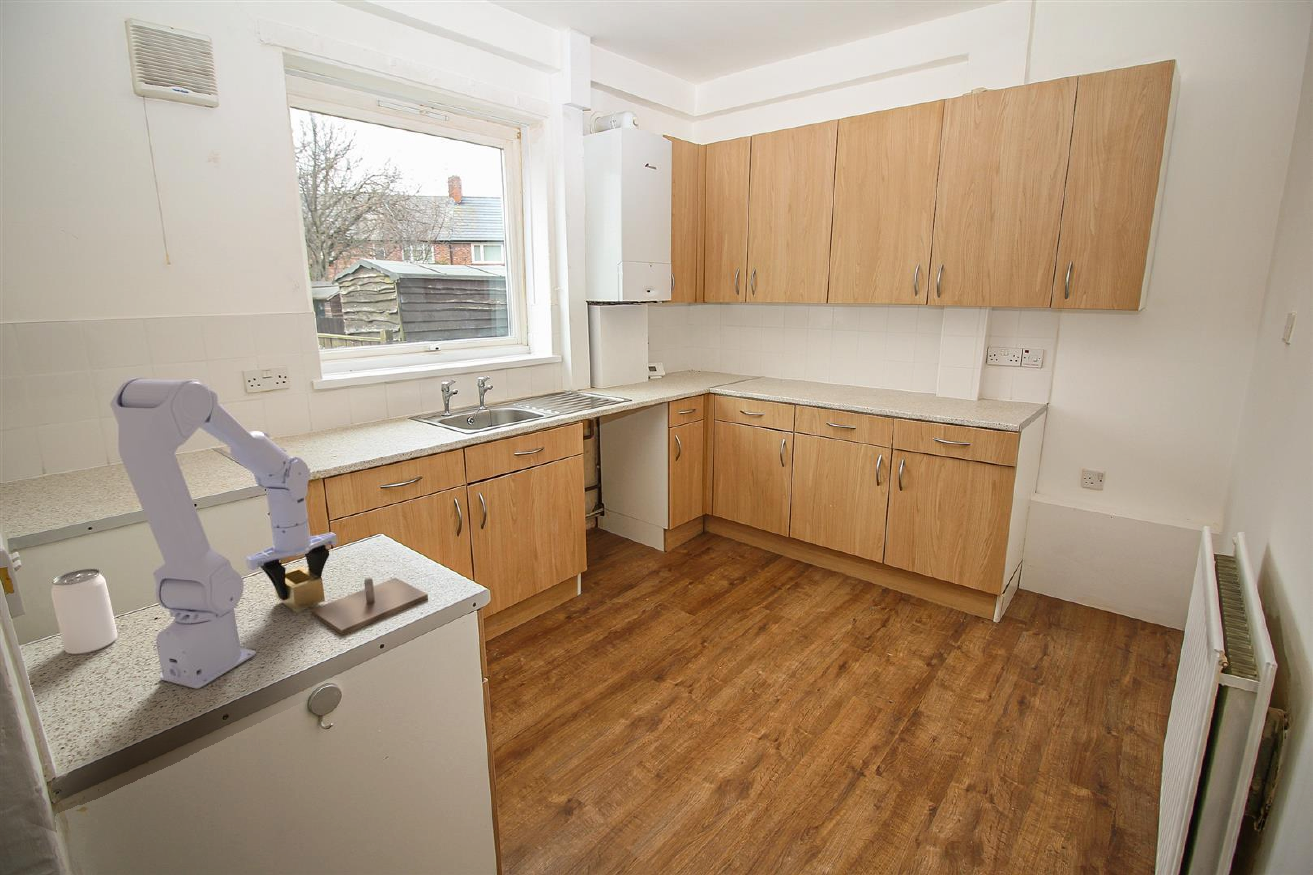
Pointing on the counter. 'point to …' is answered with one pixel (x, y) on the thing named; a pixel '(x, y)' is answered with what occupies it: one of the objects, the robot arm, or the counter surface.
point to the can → (83, 611)
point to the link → (302, 589)
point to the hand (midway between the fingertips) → (299, 592)
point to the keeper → (368, 605)
